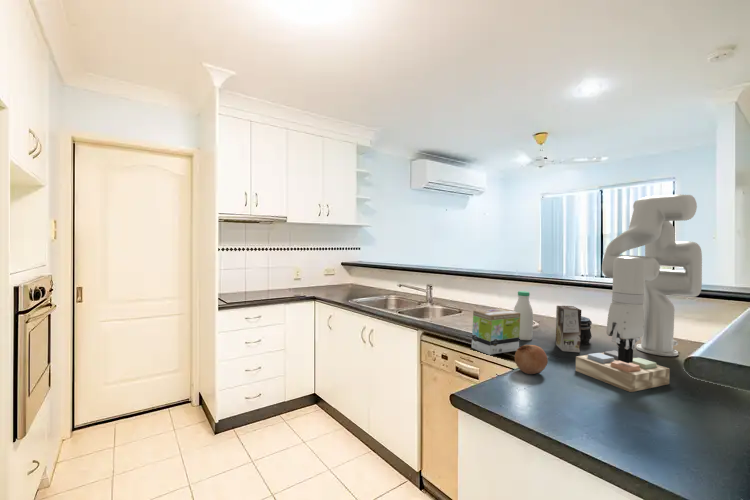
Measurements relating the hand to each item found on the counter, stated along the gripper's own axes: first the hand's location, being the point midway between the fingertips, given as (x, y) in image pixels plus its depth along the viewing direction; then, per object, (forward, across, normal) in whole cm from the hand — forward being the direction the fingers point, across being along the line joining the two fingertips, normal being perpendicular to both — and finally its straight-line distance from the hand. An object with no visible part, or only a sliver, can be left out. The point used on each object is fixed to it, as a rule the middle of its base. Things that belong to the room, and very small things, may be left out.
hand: (625, 361), depth 103 cm
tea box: (+7, +14, -39) cm, 42 cm away
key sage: (+4, -8, 0) cm, 9 cm away
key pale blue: (+4, 0, -8) cm, 8 cm away
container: (+6, -26, -38) cm, 46 cm away
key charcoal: (+4, -8, -8) cm, 11 cm away
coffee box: (+7, -14, -31) cm, 34 cm away
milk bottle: (+7, -8, -48) cm, 49 cm away
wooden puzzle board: (+6, -4, -4) cm, 9 cm away
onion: (+7, +20, -16) cm, 26 cm away
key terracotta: (+4, 0, 0) cm, 4 cm away
